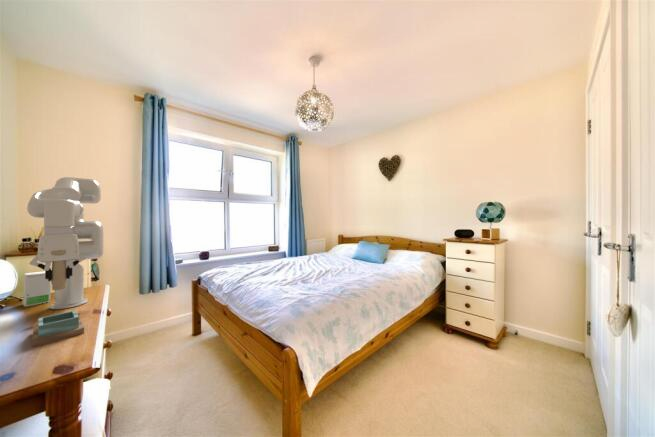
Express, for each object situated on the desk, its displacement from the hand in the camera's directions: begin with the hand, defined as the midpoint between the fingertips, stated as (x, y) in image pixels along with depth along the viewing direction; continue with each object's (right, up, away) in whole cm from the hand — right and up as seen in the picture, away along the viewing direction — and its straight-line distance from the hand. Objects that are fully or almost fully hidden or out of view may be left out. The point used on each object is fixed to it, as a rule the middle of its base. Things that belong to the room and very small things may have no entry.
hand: (59, 278), depth 86 cm
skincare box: (-45, -20, +29) cm, 57 cm away
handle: (0, -4, 0) cm, 4 cm away
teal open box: (0, -21, 0) cm, 21 cm away
